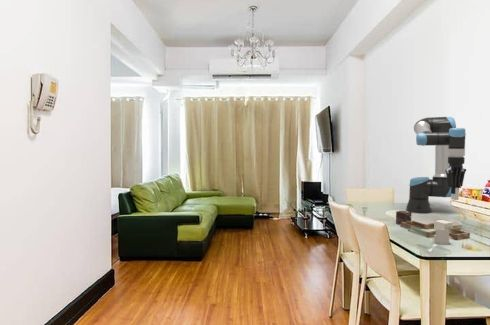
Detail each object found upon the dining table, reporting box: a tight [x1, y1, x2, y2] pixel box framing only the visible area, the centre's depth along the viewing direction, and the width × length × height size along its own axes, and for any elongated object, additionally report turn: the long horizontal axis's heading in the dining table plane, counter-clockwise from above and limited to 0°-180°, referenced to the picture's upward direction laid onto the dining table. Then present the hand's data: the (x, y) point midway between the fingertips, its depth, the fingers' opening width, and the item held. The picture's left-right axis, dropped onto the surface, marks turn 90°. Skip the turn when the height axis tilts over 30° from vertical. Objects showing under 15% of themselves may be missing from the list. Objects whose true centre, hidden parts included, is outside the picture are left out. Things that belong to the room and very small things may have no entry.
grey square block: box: [433, 229, 453, 245], centre depth 150 cm, size 3×7×7 cm, turn 72°
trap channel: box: [399, 220, 471, 241], centre depth 168 cm, size 23×28×2 cm
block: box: [433, 219, 454, 232], centre depth 170 cm, size 6×6×5 cm
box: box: [395, 210, 413, 225], centre depth 184 cm, size 6×6×7 cm
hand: (454, 199), depth 172 cm, fingers closed
